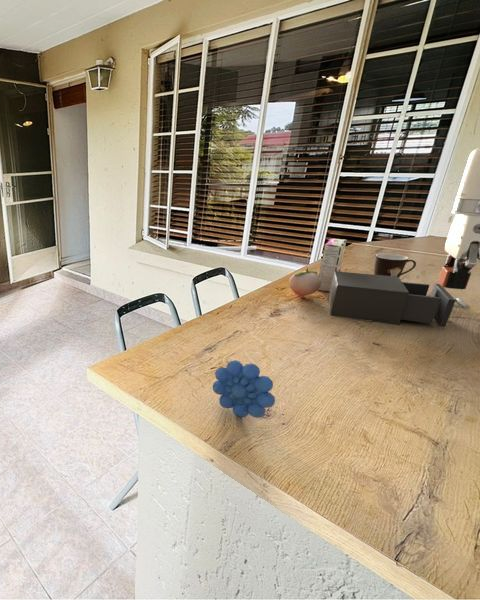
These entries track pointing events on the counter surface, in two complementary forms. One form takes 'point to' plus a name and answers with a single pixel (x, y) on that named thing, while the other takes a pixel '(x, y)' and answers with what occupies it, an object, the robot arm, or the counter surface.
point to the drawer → (430, 304)
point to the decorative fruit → (305, 282)
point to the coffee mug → (391, 265)
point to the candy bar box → (331, 262)
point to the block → (446, 276)
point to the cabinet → (367, 297)
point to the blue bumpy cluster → (243, 389)
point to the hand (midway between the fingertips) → (451, 284)
